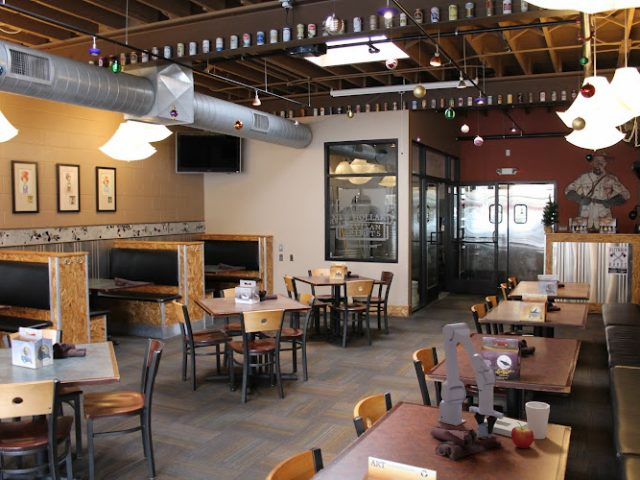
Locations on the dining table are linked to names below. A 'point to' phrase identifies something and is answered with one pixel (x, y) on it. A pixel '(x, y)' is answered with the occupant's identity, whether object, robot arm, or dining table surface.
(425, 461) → the dining table surface
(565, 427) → the dining table surface
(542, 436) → the foam cup
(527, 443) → the apple
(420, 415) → the dining table surface
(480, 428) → the servo
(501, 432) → the chassis plate
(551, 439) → the dining table surface
